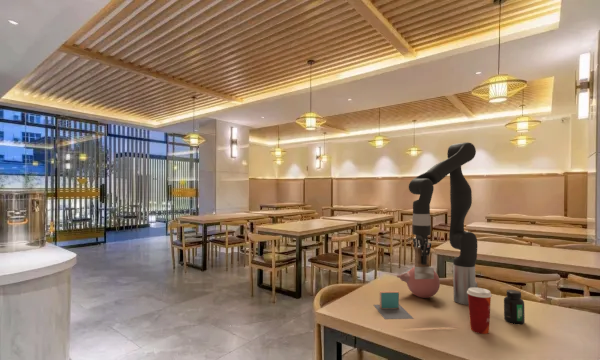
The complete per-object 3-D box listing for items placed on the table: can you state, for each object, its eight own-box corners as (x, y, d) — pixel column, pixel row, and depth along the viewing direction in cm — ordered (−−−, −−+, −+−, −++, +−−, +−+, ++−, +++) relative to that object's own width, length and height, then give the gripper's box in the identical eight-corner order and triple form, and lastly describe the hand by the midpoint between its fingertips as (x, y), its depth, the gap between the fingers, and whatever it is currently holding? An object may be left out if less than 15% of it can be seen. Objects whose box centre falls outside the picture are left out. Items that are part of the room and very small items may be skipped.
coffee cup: (497, 335, 115) (496, 293, 116) (474, 335, 115) (473, 293, 116) (484, 325, 124) (483, 286, 124) (463, 325, 124) (462, 286, 124)
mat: (399, 306, 144) (399, 304, 144) (413, 320, 128) (413, 318, 128) (373, 306, 144) (373, 304, 144) (384, 321, 128) (384, 319, 128)
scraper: (429, 276, 141) (429, 246, 141) (433, 278, 137) (433, 248, 137) (411, 276, 140) (411, 247, 141) (415, 279, 136) (415, 248, 137)
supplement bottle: (525, 326, 123) (524, 295, 123) (504, 322, 126) (503, 292, 127) (523, 320, 129) (523, 290, 129) (503, 316, 132) (503, 287, 133)
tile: (397, 306, 141) (397, 290, 141) (399, 308, 139) (398, 292, 139) (379, 307, 141) (379, 291, 141) (381, 308, 139) (381, 292, 139)
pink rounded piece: (396, 290, 167) (396, 260, 168) (437, 293, 161) (437, 263, 162) (396, 299, 153) (396, 267, 153) (442, 304, 147) (441, 270, 147)
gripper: (437, 225, 133) (438, 267, 133) (422, 222, 147) (423, 259, 147) (420, 225, 133) (420, 267, 132) (406, 222, 147) (407, 260, 146)
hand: (422, 263), depth 139 cm, fingers closed on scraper, 3 cm apart
